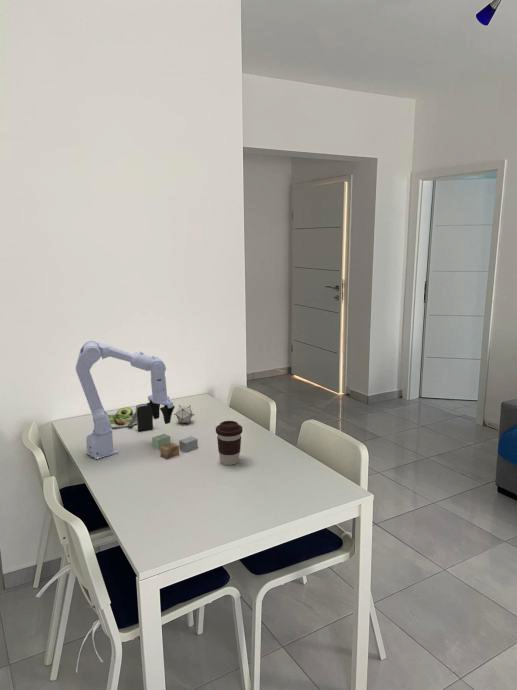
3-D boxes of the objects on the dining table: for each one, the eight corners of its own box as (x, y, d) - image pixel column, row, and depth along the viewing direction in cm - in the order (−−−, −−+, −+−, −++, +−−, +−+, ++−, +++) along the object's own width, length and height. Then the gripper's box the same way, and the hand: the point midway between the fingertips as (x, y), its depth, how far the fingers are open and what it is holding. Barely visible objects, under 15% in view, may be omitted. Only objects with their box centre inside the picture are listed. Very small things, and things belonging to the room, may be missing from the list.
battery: (151, 426, 233) (150, 402, 231) (153, 429, 230) (152, 404, 227) (135, 429, 230) (134, 404, 228) (137, 432, 227) (136, 406, 224)
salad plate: (148, 426, 234) (148, 416, 233) (108, 433, 226) (107, 423, 225) (137, 413, 251) (136, 404, 250) (98, 419, 243) (98, 410, 242)
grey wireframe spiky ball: (180, 430, 239) (170, 411, 240) (197, 421, 241) (186, 402, 243) (181, 427, 230) (170, 407, 232) (198, 418, 233) (188, 398, 235)
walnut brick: (166, 459, 200) (166, 449, 199) (160, 456, 203) (160, 446, 202) (179, 455, 204) (179, 445, 204) (173, 452, 207) (173, 442, 206)
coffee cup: (239, 468, 193) (238, 429, 190) (213, 465, 195) (212, 427, 192) (245, 456, 203) (245, 419, 199) (220, 454, 204) (219, 418, 201)
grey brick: (185, 452, 206) (185, 443, 206) (179, 449, 209) (179, 440, 208) (197, 448, 211) (197, 439, 210) (191, 445, 213) (191, 436, 213)
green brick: (158, 449, 209) (157, 440, 208) (152, 446, 212) (152, 437, 211) (170, 445, 213) (170, 436, 213) (164, 442, 216) (164, 433, 215)
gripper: (178, 389, 206) (181, 422, 209) (157, 382, 216) (160, 413, 219) (163, 394, 201) (166, 427, 204) (142, 387, 211) (145, 418, 214)
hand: (162, 420), depth 211 cm, fingers open, 7 cm apart
